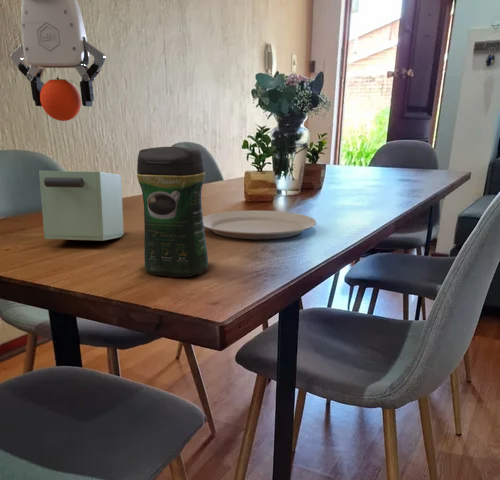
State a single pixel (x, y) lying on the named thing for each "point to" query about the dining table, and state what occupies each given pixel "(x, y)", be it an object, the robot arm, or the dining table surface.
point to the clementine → (60, 99)
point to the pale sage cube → (81, 205)
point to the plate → (257, 224)
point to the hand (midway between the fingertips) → (64, 105)
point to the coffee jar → (173, 210)
